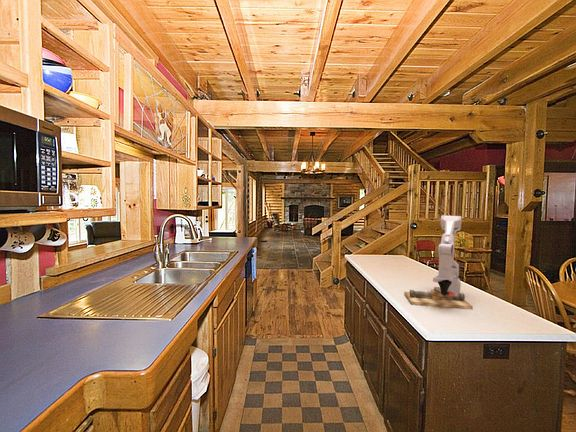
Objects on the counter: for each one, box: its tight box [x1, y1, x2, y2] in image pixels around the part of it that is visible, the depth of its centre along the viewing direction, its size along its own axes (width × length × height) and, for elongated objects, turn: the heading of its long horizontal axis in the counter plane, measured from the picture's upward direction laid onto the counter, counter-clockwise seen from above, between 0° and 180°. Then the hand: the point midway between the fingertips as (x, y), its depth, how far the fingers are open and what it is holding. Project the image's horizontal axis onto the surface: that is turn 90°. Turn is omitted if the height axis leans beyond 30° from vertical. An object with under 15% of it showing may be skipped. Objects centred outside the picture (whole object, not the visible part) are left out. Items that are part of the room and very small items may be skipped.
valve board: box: [403, 288, 473, 310], centre depth 154 cm, size 28×16×6 cm, turn 80°
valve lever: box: [433, 286, 455, 296], centre depth 150 cm, size 11×2×1 cm, turn 19°
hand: (443, 294), depth 147 cm, fingers closed
